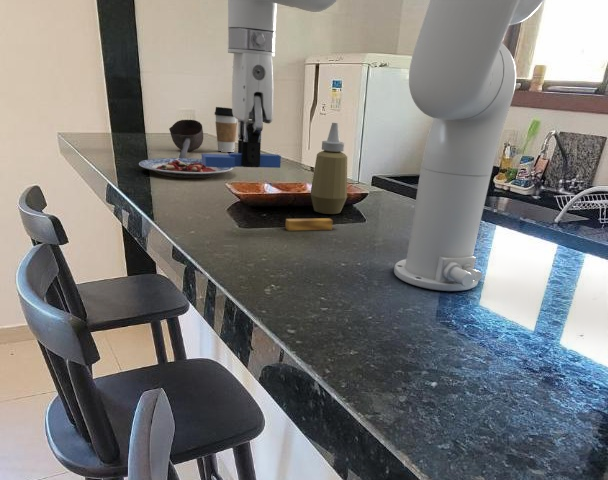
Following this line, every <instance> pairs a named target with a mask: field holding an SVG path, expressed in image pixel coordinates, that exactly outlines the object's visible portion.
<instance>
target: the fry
mask: <svg viewBox="0 0 608 480" xmlns="http://www.w3.org/2000/svg"><path fill="white" fill-rule="evenodd" d="M333 222H334V220H333V219H332V218H330V217H325V218H323V217H321V218H319V217H318V218H315V217H314V218H285V228H284V229H285V230H287V231H290V232H291V231H331V230H333V224H334V223H333Z"/></svg>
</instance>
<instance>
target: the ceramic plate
mask: <svg viewBox="0 0 608 480" xmlns="http://www.w3.org/2000/svg"><path fill="white" fill-rule="evenodd" d="M138 165H139V167H141V168H143V169H146V170H150V171H153V172H155V173H157V174H159V175H161V176H166V177H173V178H184V179H199V178H200V179H202V178H211V177H214V176H217V175H218V174H222V173H228V172H230V171H232V170H233V169H234V167H205V166H204V165H203V164H202V158H190V157H189V158H179V157H164V158H151V159H144V160H141V161H139V163H138Z"/></svg>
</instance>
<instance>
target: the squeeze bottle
mask: <svg viewBox="0 0 608 480" xmlns="http://www.w3.org/2000/svg"><path fill="white" fill-rule="evenodd" d="M339 132H340V131H339V123H338V122H331V125H330V129H329V132H328V136H327V139H326V140H323V141H321V150H322V151H321V150H320V151H319V152H318V153H317V154H316V157H315V164H314V169H313V174H312V181H311V186H310V187H311V188H310V193H309V194H310V199H311V203H312V207H313V211H314V212H316V213H320V214H324V215H336V214H340V213H341V211H342V209H343V208H344V206H345V203H346V201H347V199H348V156H347V154H346V153H344V150H345V142H343V141H340V133H339Z"/></svg>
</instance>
